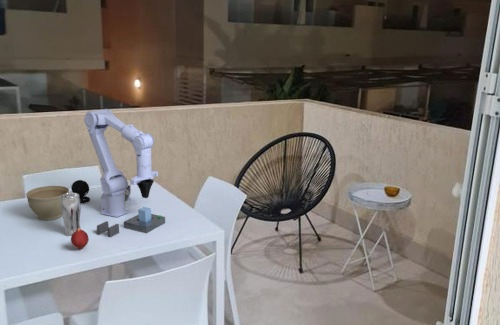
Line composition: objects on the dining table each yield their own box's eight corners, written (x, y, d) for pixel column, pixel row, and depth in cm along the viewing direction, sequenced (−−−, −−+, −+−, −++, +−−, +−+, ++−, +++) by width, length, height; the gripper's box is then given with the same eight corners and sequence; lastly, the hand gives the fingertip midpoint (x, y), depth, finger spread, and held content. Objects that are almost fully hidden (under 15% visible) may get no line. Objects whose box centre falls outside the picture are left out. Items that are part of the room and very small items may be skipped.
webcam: (92, 198, 218) (90, 177, 215) (87, 204, 210) (86, 182, 208) (75, 198, 217) (73, 177, 215) (70, 204, 210) (68, 182, 208)
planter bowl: (19, 220, 191) (16, 194, 188) (50, 207, 205) (47, 183, 203) (50, 226, 185) (48, 200, 182) (79, 213, 200) (77, 188, 197)
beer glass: (86, 230, 181) (83, 193, 178) (74, 237, 175) (71, 199, 171) (71, 228, 184) (68, 191, 180) (59, 235, 177) (55, 197, 173)
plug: (138, 226, 187) (138, 209, 185) (144, 223, 190) (143, 206, 188) (145, 227, 185) (145, 211, 184) (151, 224, 188) (150, 208, 187)
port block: (123, 227, 185) (123, 220, 184) (143, 218, 195) (143, 210, 195) (146, 233, 180) (146, 225, 179) (165, 222, 191) (165, 215, 190)
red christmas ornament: (74, 245, 169) (72, 224, 167) (91, 245, 169) (89, 224, 167) (69, 252, 163) (67, 231, 161) (86, 252, 163) (85, 231, 161)
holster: (97, 234, 179) (96, 225, 178) (106, 229, 183) (106, 221, 182) (110, 237, 176) (109, 228, 175) (119, 232, 180) (118, 224, 179)
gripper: (140, 170, 178) (141, 204, 181) (163, 162, 190) (164, 194, 194) (125, 167, 181) (127, 201, 184) (149, 159, 193) (150, 191, 197)
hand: (145, 197), depth 189 cm, fingers closed
